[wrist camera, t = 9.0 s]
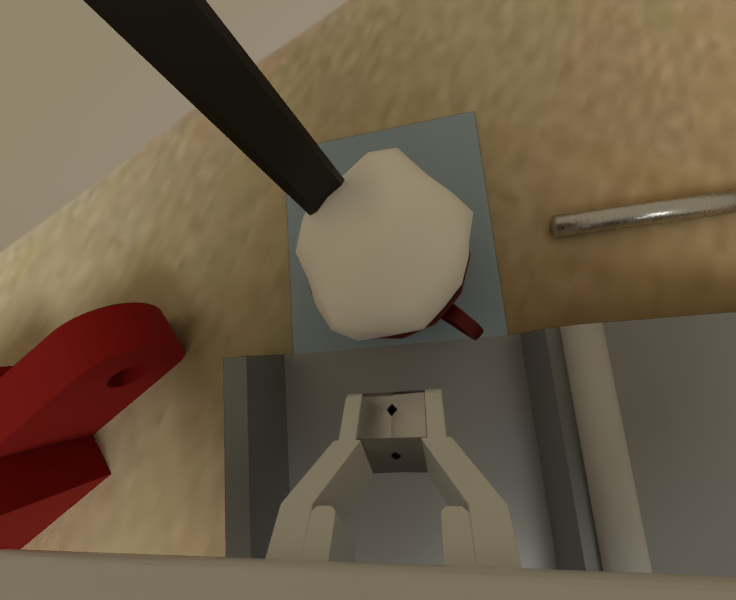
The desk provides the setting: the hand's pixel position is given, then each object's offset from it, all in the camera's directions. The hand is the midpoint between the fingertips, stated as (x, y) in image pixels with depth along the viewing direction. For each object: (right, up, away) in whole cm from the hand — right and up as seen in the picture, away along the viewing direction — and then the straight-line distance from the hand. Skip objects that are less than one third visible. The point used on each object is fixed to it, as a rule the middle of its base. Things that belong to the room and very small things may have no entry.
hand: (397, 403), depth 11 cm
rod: (+12, +7, +4) cm, 14 cm away
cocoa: (0, +5, +6) cm, 7 cm away
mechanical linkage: (-17, -3, +8) cm, 19 cm away
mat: (0, +7, +6) cm, 9 cm away
